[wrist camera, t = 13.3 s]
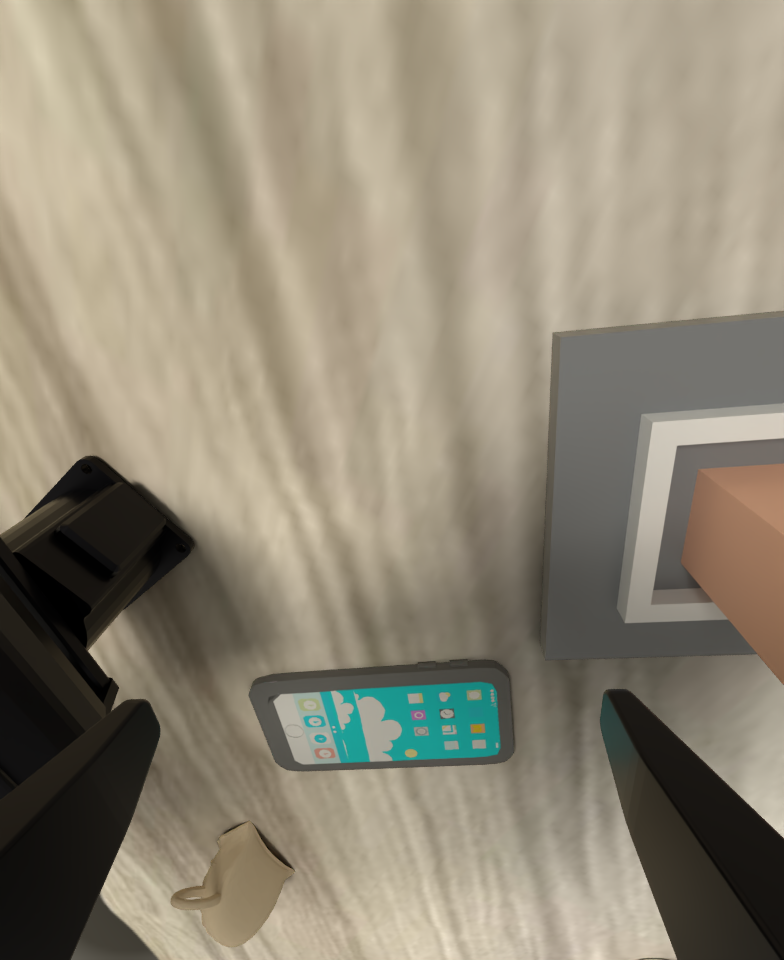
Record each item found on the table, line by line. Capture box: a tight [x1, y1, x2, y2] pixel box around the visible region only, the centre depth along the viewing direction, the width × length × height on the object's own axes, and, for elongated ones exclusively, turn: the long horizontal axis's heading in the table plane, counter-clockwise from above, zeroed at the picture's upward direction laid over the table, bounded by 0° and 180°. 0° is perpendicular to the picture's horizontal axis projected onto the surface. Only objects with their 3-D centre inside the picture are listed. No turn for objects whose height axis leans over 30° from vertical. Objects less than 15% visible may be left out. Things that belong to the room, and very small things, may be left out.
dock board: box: [540, 311, 784, 660], centre depth 20 cm, size 16×16×2 cm
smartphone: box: [249, 660, 514, 771], centre depth 28 cm, size 9×1×15 cm
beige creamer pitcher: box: [171, 821, 294, 947], centre depth 33 cm, size 4×8×5 cm, turn 22°
